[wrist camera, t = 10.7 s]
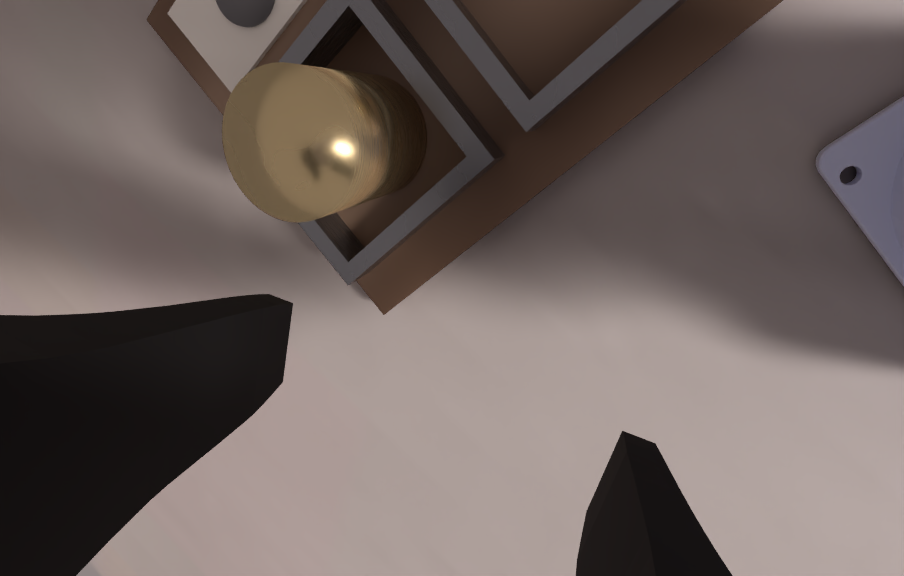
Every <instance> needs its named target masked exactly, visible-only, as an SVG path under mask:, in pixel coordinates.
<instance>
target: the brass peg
mask: <svg viewBox="0 0 904 576" xmlns="http://www.w3.org/2000/svg"><path fill="white" fill-rule="evenodd" d="M222 141H223V148H224V153H225V157H226V161H227V164H228V166H229V169H230V172H231V174H232V176H233V178H234V180H235V182H236V183H237V185H238V186H239V188H240V189H241V191H242V192H243V193H244V195H245V196H246V197H247V198H248V199H249V200H250V201H251V202H252V203H253V204H254V205H255V206H256V207H258V208H259V209H260V210H262V211H263V212H265V213H266V214H268V215H270V216H272V217H274V218H277V219H280V220H283V221H288V222H299V223H300V222H309V221H312V220H316V219H319V218H322V217H325V216H327V215H330V214H333V213H336V212H339V211H342V210H345V209H348V208H351V207H354V206H357V205H359V204H362V203H365V202H368V201H371V200H374V199H377V198H380V197H383V196H386V195H389V194H391V193H394V192H396V191H399V190H400V189H402V188H404V187H405V186H406V185H407V184H409V183H410V182H411V181H412V180H413V178H414V177H415V176H416V175H417V173H418V172H419V170H420V168H421V166H422V164H423V161H424V158H425V154H426V149H427V129H426V123H425V120H424V116H423V114H422V111H421V109H420V107H419V105H418V103H417V102H416V100H415V99H414V97H413V96H412V95H411V94H410V93H409V92H408V91H407V89H406V88H404V87H403V86H402V85H401V84H399V83H397V82H396V81H394V80H392V79H390V78H387V77H384V76H381V75H374V74H367V73H360V72H352V71H345V70H338V69H330V68H323V67H316V66H308V65H301V64H293V63H284V62H276V63H269V64H265V65H262V66H260V67H257V68H255V69H253V70H252V71H250V72H249V73H247V74H246V75H245V76H244V77H243V78H242V79H241V80H240V81H239V82H238V84H237V85H236V86H235V88H234V89H233V91H232V93H231V94H230V97H229V99H228V101H227V104H226V108H225V111H224V116H223V123H222Z"/></svg>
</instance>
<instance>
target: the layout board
mask: <svg viewBox="0 0 904 576" xmlns="http://www.w3.org/2000/svg"><path fill="white" fill-rule="evenodd" d="M782 1H783V0H158V2H157V3H156V5H155V6H154V8H153V10H152V11H151V13H150V15H149V16H148V18H147V21H148V22H149V24H150V25H151V26H152V27H153V29H154V30H155V31H156V32H157V34H158V35H159V36H160V37H161V39H162V40H163V41H164V42H165V44H166V45H167V46H168V47H169V49H170V50H171V51H172V52H173V54H174V55H175V56H176V57H177V59H178V60H179V61H180V62H181V64H182V65H183V66H184V67H185V68H186V70H187V71H188V72H189V73H190V75H191V76H192V77H193V78H194V80H195V81H196V82H197V83H198V85H199V86H200V87H201V88H202V90H203V91H204V92H205V93H206V95H207V96H208V97H209V98H210V100H211V101H212V102H213V103H214V105H215V106H216V107H217V108H218V110H219V111H220V112H221V113H222V114H223V116H224V111H225V108H226V104H227V101H228V99H229V97H230V94H231V93H232V91H233V89H234V88H235V86H236V85H237V84H238V82H239V81H240V80H241V79H242V78H243V77H244V76H245V75H246V74H247V73H249V72H250V71H252V70H253V69H255V68H257V67H260V66H262V65H265V64H269V63H276V62H284V63H293V64H301V65H308V66H316V67H323V68H330V69H338V70H345V71H352V72H360V73H367V74H374V75H381V76H384V77H387V78H390V79H392V80H394V81H396V82H397V83H399V84H401V85H402V86H403V87H404V88H406V89H407V91H408V92H409V93H410V94H411V95H412V96H413V97H414V99H415V100H416V102H417V103H418V105H419V107H420V109H421V111H422V114H423V116H424V120H425V123H426V129H427V149H426V154H425V158H424V161H423V164H422V166H421V168H420V170H419V172H418V173H417V175H416V176H415V177H414V178H413V180H412V181H411V182H410V183H409V184H407V185H406V186H405V187H404V188H402V189H400V190H399V191H396V192H394V193H391V194H389V195H386V196H383V197H380V198H377V199H374V200H371V201H368V202H365V203H362V204H359V205H357V206H354V207H351V208H348V209H345V210H342V211H339V212H336V213H333V214H330V215H327V216H325V217H322V218H319V219H316V220H312V221H309V222H300V223H299V222H297V223H298V224H299V225H300V226H301V227H302V229H303V230H304V231H305V232H306V234H307V235H308V236H309V237H310V239H311V240H312V241H313V242H314V244H315V245H316V246H317V247H318V249H319V250H320V251H321V252H322V254H323V255H324V256H325V257H326V259H327V260H328V261H329V262H330V263H331V265H332V266H333V267H334V268H335V270H336V271H337V272H338V273H339V275H340V276H341V277H342V278H343V280H344V281H345V282H346V283H347V285H350V284H351V283H353V282H355V281H357V282H358V284H359V285H360V286H361V287H362V288H363V290H364V291H365V292H366V293H367V295H368V296H369V297H370V298H371V300H372V301H373V302H374V303H375V305H376V306H377V307H378V308H379V310H380V311H381V312H382V313H383V315H384V314H386V313H387V312H388V311H390V310H391V309H392V308H393V307H395V306H396V305H397V304H398V303H400V302H401V301H402V300H404V299H405V298H406V297H407V296H409V295H410V294H411V293H412V292H414V291H415V290H416V289H417V288H419V287H420V286H421V285H423V284H424V283H425V282H426V281H428V280H429V279H430V278H431V277H433V276H434V275H435V274H437V273H438V272H439V271H440V270H442V269H443V268H444V267H445V266H447V265H448V264H449V263H450V262H452V261H453V260H454V259H456V258H457V257H458V256H459V255H461V254H462V253H463V252H464V251H466V250H467V249H468V248H470V247H471V246H472V245H473V244H475V243H476V242H477V241H478V240H480V239H481V238H482V237H483V236H485V235H486V234H487V233H489V232H490V231H491V230H492V229H494V228H495V227H496V226H497V225H499V224H500V223H501V222H503V221H504V220H505V219H506V218H508V217H509V216H510V215H511V214H513V213H514V212H515V211H516V210H518V209H519V208H520V207H522V206H523V205H524V204H525V203H527V202H528V201H529V200H530V199H532V198H533V197H534V196H536V195H537V194H538V193H539V192H541V191H542V190H543V189H544V188H546V187H547V186H548V185H549V184H551V183H552V182H553V181H555V180H556V179H557V178H558V177H560V176H561V175H562V174H563V173H565V172H566V171H567V170H569V169H570V168H571V167H572V166H574V165H575V164H576V163H577V162H579V161H580V160H581V159H582V158H584V157H585V156H586V155H588V154H589V153H590V152H591V151H593V150H594V149H595V148H596V147H598V146H599V145H600V144H602V143H603V142H604V141H605V140H607V139H608V138H609V137H610V136H612V135H613V134H614V133H615V132H617V131H618V130H619V129H621V128H622V127H623V126H624V125H626V124H627V123H628V122H629V121H631V120H632V119H633V118H635V117H636V116H637V115H638V114H640V113H641V112H642V111H643V110H645V109H646V108H647V107H648V106H650V105H651V104H652V103H654V102H655V101H656V100H657V99H659V98H660V97H661V96H662V95H664V94H665V93H666V92H668V91H669V90H670V89H671V88H673V87H674V86H675V85H676V84H678V83H679V82H680V81H681V80H683V79H684V78H685V77H687V76H688V75H689V74H690V73H692V72H693V71H694V70H695V69H697V68H698V67H699V66H701V65H702V64H703V63H704V62H706V61H707V60H708V59H709V58H711V57H712V56H713V55H714V54H716V53H717V52H718V51H720V50H721V49H722V48H723V47H725V46H726V45H727V44H728V43H730V42H731V41H732V40H734V39H735V38H736V37H737V36H739V35H740V34H741V33H742V32H744V31H745V30H746V29H747V28H749V27H750V26H751V25H753V24H754V23H755V22H756V21H758V20H759V19H760V18H761V17H763V16H764V15H765V14H767V13H768V12H769V11H770V10H772V9H773V8H774V7H775V6H777V5H778V4H779V3H780V2H782Z"/></svg>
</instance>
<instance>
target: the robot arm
mask: <svg viewBox="0 0 904 576" xmlns="http://www.w3.org/2000/svg"><path fill="white" fill-rule="evenodd" d="M849 166H854V167H855V168H856V171H857V174H856V177H855V178H854V179H853V180H852V181H851V182H848V183H842V182H841V181H840V178H839V176H840V173H841V171H842V170H844V169H845V168H846V167H849ZM816 168H817V170H818V172H819V173H820V175H821V176H822V177H823V179H824V180H825V182H826V183H827V184H828V186H829V187H830V188H831V190H832V191H833V192H834V194H835V195H836V196H837V198H838V199H839V200H840V202H841V203H842V204H843V206H844V207H845V208H846V210H847V211H848V213H849V214H850V215H851V217H852V218H853V219H854V221H855V222H856V223H857V225H858V226H859V227H860V229H861V230H862V231H863V233H864V234H865V235H866V237H867V238H868V239H869V241H870V242H871V243H872V245H873V246H874V248H875V249H876V250H877V252H878V253H879V254H880V256H881V257H882V258H883V260H884V261H885V262H886V264H887V265H888V266H889V268H890V269H891V270H892V272H893V273H894V274H895V276H896V277H897V279H898V280H899V281H900V283H901V284H902V285H903V287H904V96H903V97H901V98H900V99H898V100H897V101H895V102H894V103H892V104H890V105H889V106H887V107H886V108H884V109H883V110H881V111H880V112H878V113H877V114H875V115H873V116H872V117H870V118H869V119H867V120H866V121H864V122H863V123H861V124H859V125H858V126H856V127H855V128H853V129H852V130H850V131H849V132H847V133H845V134H844V135H842V136H841V137H839V138H838V139H836V140H835V141H833V142H832V143H830V144H828V145H827V146H825V147H824V148H823V149H822V150H821V151H820V152H819V154H818V156H817V158H816ZM292 307H293V303H291V302H288V301H285V300H283V299H280V298H278V297H275V296H272V295H270V294H258V295H246V296H237V297H229V298H221V299H214V300H206V301H199V302H192V303H184V304H177V305H170V306H161V307H152V308H143V309H134V310H124V311H115V312H103V313H89V314H69V315H41V316H22V315H0V576H76V575H77V574H78V573H79V572H80V571H81V570H82V569H83V568H84V567H85V566H86V565H87V564H88V562H89V561H90V560H91V559H92V558H93V557H94V556H95V555H96V554H97V553H98V552H99V551H100V550H101V549H102V548H103V547H104V546H105V545H106V544H107V543H108V541H109V540H110V539H111V538H113V537H114V536H115V535H116V534H117V533H118V532H119V531H120V530H121V529H122V528H123V527H124V526H125V525H126V524H127V523H128V522H129V521H130V520H131V519H132V518H133V517H134V516H135V515H136V514H137V513H138V512H139V511H140V510H141V509H142V508H143V507H144V506H145V505H146V504H147V503H148V502H149V501H150V500H151V499H152V498H153V497H155V496H156V495H157V494H158V493H159V492H160V491H161V490H162V489H164V488H165V487H166V486H167V485H168V484H169V483H171V482H172V481H173V480H174V479H176V478H177V477H178V476H179V475H180V474H182V473H183V472H184V471H185V470H187V469H188V468H189V467H190V466H191V465H193V464H194V463H195V462H196V461H198V460H199V459H200V458H201V457H203V456H204V455H205V454H206V453H207V452H209V451H210V450H211V449H212V448H214V447H215V446H216V445H217V444H219V443H220V442H221V441H222V440H223V439H225V438H226V437H227V436H228V435H229V434H231V433H232V432H233V431H234V430H235V429H237V428H238V427H239V426H240V425H241V424H243V423H244V422H245V421H246V420H247V419H249V418H250V417H251V416H252V415H253V414H254V413H255V412H256V411H257V410H258V409H259V408H260V407H261V406H262V405H263V404H264V403H265V402H266V400H267V399H268V398H269V397H270V396H271V395H272V394H273V393H274V391H275V390H276V389H277V388H278V387H279V386H280V385H281V384H282V382H283V376H284V368H285V361H286V353H287V345H288V337H289V330H290V322H291V314H292ZM576 576H732V574H731V573H730V571H729V570H728V568H727V567H726V565H725V564H724V562H723V561H722V559H721V558H720V556H719V555H718V553H717V552H716V550H715V548H714V547H713V545H712V544H711V542H710V540H709V539H708V537H707V536H706V534H705V532H704V531H703V529H702V527H701V526H700V524H699V522H698V521H697V519H696V517H695V515H694V514H693V512H692V510H691V508H690V507H689V505H688V503H687V501H686V499H685V498H684V496H683V494H682V492H681V490H680V489H679V487H678V485H677V483H676V481H675V479H674V477H673V476H672V474H671V472H670V470H669V468H668V466H667V464H666V462H665V460H664V459H663V457H662V455H661V453H660V451H659V449H658V448H657V446H656V444H655V443H653V442H650V441H647V440H645V439H642V438H640V437H637V436H634V435H632V434H629V433H627V432H624V431H622V433H621V435H620V437H619V440H618V442H617V444H616V446H615V449H614V451H613V453H612V455H611V458H610V460H609V462H608V464H607V467H606V469H605V471H604V473H603V476H602V478H601V480H600V482H599V485H598V487H597V489H596V491H595V494H594V496H593V498H592V500H591V503H590V505H589V507H588V509H587V512H586V517H585V522H584V527H583V532H582V537H581V542H580V547H579V553H578V558H577V568H576Z"/></svg>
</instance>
